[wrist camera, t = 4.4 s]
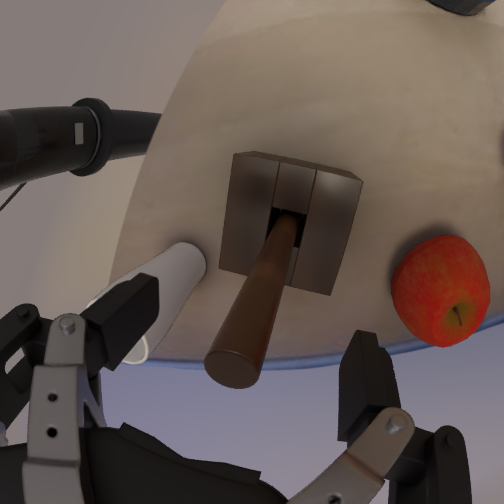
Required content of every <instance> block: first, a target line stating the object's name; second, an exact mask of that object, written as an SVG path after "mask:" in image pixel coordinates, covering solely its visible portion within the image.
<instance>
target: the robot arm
mask: <svg viewBox="0 0 504 504" xmlns="http://www.w3.org/2000/svg"><path fill="white" fill-rule="evenodd" d="M101 142H102V124H101V120H100V117H99V115H98V113H97V112H96V111H95V110H94V109H93V108H91V107H89V106H78V107H67V106H66V107H65V106H64V107H63V106H61V107H36V108H21V109H10V110H3V111H0V191H1V190H4V189H6V188H9V187H12V186H15V185H18V184H20V186H19V187H18V188H17V189H16V190H15V191H14V193H13V194H12V195H11V196H10V197H9V198H8V199H7V200H6V202H5V203H4V204H3V205H2V206H1V207H0V211H1V210H2V209H3V208H4V207H5V206H6V205H7V204H8V203H9V202H10V201H11V199H12V198H13V197H14V196H15V195H16V194H17V193H18V192H19V191H20V189H21V188H22V187H23V186H24V185H25V184H26V183H27V182H28V181H32V180H35V179H39V178H42V177H46V176H49V175H53V174H57V173H61V172H66V171H70V170H74V169H81V168H85V167H87V166H89V165H90V164H91V163H92V162H93V161H94V160H95V158H96V157H97V155H98V153H99V150H100V147H101ZM159 310H160V303H159V280H158V278H157V277H155V276H151V275H148V274H145V273H142V272H140V273H138V274H137V275H136V276H135V277H133V278H132V279H131V280H130V281H129V280H126V281H123V282H121V283H118V284H116V285H115V286H114V287H112V288H111V289H110V290H109V291H108V292H106V293H105V294H104V295H102V297H100V298H99V299H98V300H96V301H95V302H94V303H93V304H91V305H90V306H89V307H88V308H87V309H85V310H84V311H83V312H82V313H81V314H80V315H77V314H72V313H68V314H63V315H60V316H58V317H57V318H55V319H54V320H50V319H46V318H42V317H40V314H39V312H38V308H37V307H36V306H35V305H32V304H21V305H19V306H17V307H15V308H14V309H12V310H11V311H10V312H9V313H8V314H6V315H5V316H4V317H3V318H2V319H0V504H369V503H370V501H371V500H372V499H373V498H374V497H375V495H376V494H377V493H378V491H380V489H381V488H382V486H383V485H384V483H385V480H384V479H387V480H390V481H389V497H388V504H472V494H471V482H470V473H469V465H468V458H467V452H466V446H465V441H464V437H463V435H462V434H461V432H460V431H459V430H458V429H456V428H455V427H453V426H449V425H447V426H442V427H440V428H439V429H438V430H437V431H436V432H435V433H433V432H429V431H426V430H423V429H420V428H418V427H415V424H414V421H413V419H412V417H411V416H410V415H409V413H407V412H406V411H405V410H403V409H401V404H400V398H399V393H398V387H397V382H396V379H395V373H394V370H393V364H392V359H391V357H390V355H389V354H388V352H387V351H386V349H385V348H382V347H379V345H378V340H377V336H376V334H375V333H372V332H367V331H362V330H356V331H355V333H354V335H353V337H352V339H351V341H350V343H349V346H348V348H347V350H346V352H345V354H344V356H343V358H342V360H341V363H340V368H339V414H338V441H344V442H347V449H346V450H345V451H344V452H343V453H342V454H341V455H340V456H339V457H338V458H337V459H336V460H335V461H334V462H333V463H332V464H331V465H330V466H329V467H328V468H327V469H325V470H324V471H323V472H322V473H321V474H320V475H319V476H318V477H316V478H315V479H314V480H313V481H312V482H311V483H309V484H308V485H307V486H306V487H305V488H304V489H302V490H301V491H300V492H298V493H297V494H296V495H295V496H293V497H292V498H291V499H289V500H287V499H286V497H285V496H284V495H283V494H282V493H280V492H279V491H278V490H277V489H275V488H274V487H273V486H271V485H269V484H268V483H266V482H264V481H262V480H260V479H259V478H260V474H261V472H260V471H256V470H251V469H247V468H243V467H239V466H235V465H232V464H228V463H222V462H212V461H202V460H194V459H188V458H184V457H182V456H181V455H179V454H177V453H176V452H175V451H173V450H172V449H170V448H169V447H167V446H166V445H165V444H163V443H162V442H160V441H159V440H158V439H156V438H155V437H153V436H151V435H149V434H147V433H145V432H143V431H140V430H138V429H136V428H134V427H132V426H130V425H128V424H126V423H124V422H123V424H122V425H121V427H120V428H119V429H118V428H111V427H107V424H106V421H105V418H104V413H103V405H102V393H101V377H100V372H99V371H100V370H101V368H102V367H103V366H104V367H105V368H107V369H109V370H111V371H114V370H115V369H116V367H117V366H118V365H119V364H120V363H121V361H122V360H123V359H124V358H125V357H126V355H127V354H128V353H129V352H130V351H131V349H132V348H133V347H134V346H135V345H136V344H137V342H138V341H139V340H140V339H141V338H142V336H143V335H144V334H145V333H146V332H147V331H148V329H149V328H150V327H151V326H152V325H153V324H154V322H155V321H156V320H157V317H158V315H159ZM20 347H21V348H22V350H23V353H24V355H25V356H24V357H23V358H22V359H21V360H20V361H19V362H18V363H17V364H16V365H15V366H14V367H13V368H12V369H11V371H10V372H9V373H8V374H6V372H5V364H6V362H7V361H8V359H9V358H10V357H11V356H12V355H13V354H14V353H15V352H16V351H17V350H19V348H20ZM29 400H30V403H29V414H28V433H27V434H28V435H27V443H21V444H15V445H9V446H8V439H7V438H6V437H5V436H6V430H7V429H8V427H9V426H10V424H11V423H12V422H13V421H14V419H15V418H16V417H17V415H18V414H19V413H20V412H21V410H22V409H23V408H24V406H25V405H26V404H27V403H28V402H29ZM383 478H384V479H383Z"/></svg>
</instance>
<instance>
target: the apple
mask: <svg viewBox="0 0 504 504" xmlns="http://www.w3.org/2000/svg"><path fill="white" fill-rule="evenodd" d="M391 295H392V299H393V303H394V307H395V309H396V311H397V313H398V315H399V317H400V319H401V320H402V321H403V323H404V324H405V326H406V327H407V328H408V330H409V331H410V332H411V333H412V334H414V335H415V336H416V337H418V338H419V339H421V340H422V341H424V342H426V343H428V344H431V345H434V346H437V347H442V348H443V347H449V346H452V345H454V344H457V343H459V342H461V341H463V340H465V339H467V338H468V337H469V336H471V335H472V334H473V333H474V332H475V331H476V330H477V328H478V327H479V325H480V324H481V322H482V321H483V319H484V317H485V314H486V311H487V309H488V306H489V303H490V284H489V280H488V277H487V273H486V269H485V266H484V263H483V261H482V259H481V258H480V256H479V254H478V253H477V251H476V250H475V249H474V248H473V246H472V245H471V244H470V243H468V242H467V241H466V240H465V239H463V238H460V237H458V236H454V235H440V236H437V237H435V238H432V239H429V240H427V241H425V242H422V243H420V244H418V245H417V246H416V247H415V248H413V249H412V250H411V251H410V252H408V253H407V254H406V255H405V257H404V258H403V260H402V261H401V262H400V264H399V265H398V266H397V268H396V270H395V273H394V275H393V278H392V285H391Z"/></svg>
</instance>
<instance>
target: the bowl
mask: <svg viewBox="0 0 504 504" xmlns="http://www.w3.org/2000/svg"><path fill="white" fill-rule="evenodd" d="M430 1H432V2H433V3H435V4H437V5H440V6H442V7H444V8H446V9H448V10H450V11H453V12H457V13H460V14H464V15H472V14H477V13H478V12H480V11H481V10H483V9H484V8H485V7H487V6H488V5H490V4H491V3H493V2H494V1H496V0H430Z"/></svg>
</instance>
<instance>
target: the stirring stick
mask: <svg viewBox="0 0 504 504" xmlns="http://www.w3.org/2000/svg"><path fill="white" fill-rule="evenodd" d="M300 215H301V213H297V212H293V211H288V210H284V209H282V211H281V213H280V215H279V217H278V219H277V221H276V223H275V225H274V227H273V229H272V231H271V232H270V234H269V236H268V238H267V240H266V242H265V244H264V246H263V248H262V250H261V252H260V254H259V256H258V258H257V259H256V261H255V263H254V265H253V267H252V269H251V271H250V273H249V275H248V277H247V279H246V281H245V282H244V284H243V286H242V288H241V290H240V292H239V294H238V296H237V298H236V300H235V302H234V304H233V305H232V307H231V309H230V311H229V313H228V315H227V317H226V319H225V321H224V323H223V324H222V326H221V328H220V330H219V332H218V334H217V336H216V338H215V340H214V341H213V343H212V345H211V347H210V349H209V351H208V353H207V355H206V357H205V359H204V367H205V370H206V372H207V373H208V375H209V376H210V377H211V378H212V379H213V380H215V381H216V382H218V383H219V384H221V385H223V386H226V387H229V388H234V389H244V388H248V387H251V386H252V385H254V384H255V383H256V382H257V381H258V379H259V376H260V373H261V369H262V366H263V362H264V359H265V355H266V351H267V348H268V344H269V341H270V337H271V333H272V329H273V326H274V322H275V318H276V314H277V311H278V307H279V303H280V299H281V295H282V291H283V287H284V283H285V279H286V275H287V271H288V267H289V263H290V259H291V254H292V250H293V246H294V242H295V237H296V233H297V229H298V224H299V220H300Z"/></svg>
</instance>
